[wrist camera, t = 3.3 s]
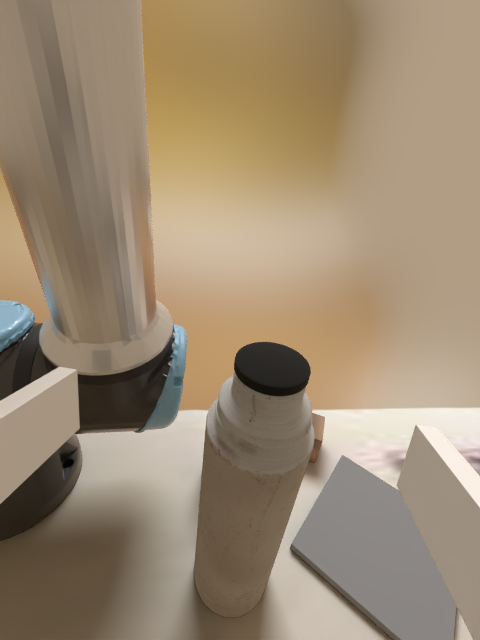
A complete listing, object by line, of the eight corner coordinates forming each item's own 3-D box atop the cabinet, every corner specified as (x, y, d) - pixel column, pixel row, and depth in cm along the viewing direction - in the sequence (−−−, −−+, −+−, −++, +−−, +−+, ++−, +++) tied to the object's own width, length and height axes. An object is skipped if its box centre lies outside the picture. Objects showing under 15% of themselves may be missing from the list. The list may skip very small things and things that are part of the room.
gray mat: (289, 548, 34) (291, 543, 34) (340, 459, 46) (342, 454, 45) (445, 685, 26) (450, 682, 26) (459, 535, 38) (462, 531, 37)
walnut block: (282, 451, 46) (288, 429, 44) (288, 428, 50) (293, 407, 48) (314, 463, 45) (322, 441, 42) (317, 438, 49) (324, 417, 47)
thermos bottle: (226, 513, 37) (258, 317, 24) (280, 563, 33) (354, 360, 20) (178, 573, 31) (184, 357, 18) (236, 642, 27) (300, 429, 14)
